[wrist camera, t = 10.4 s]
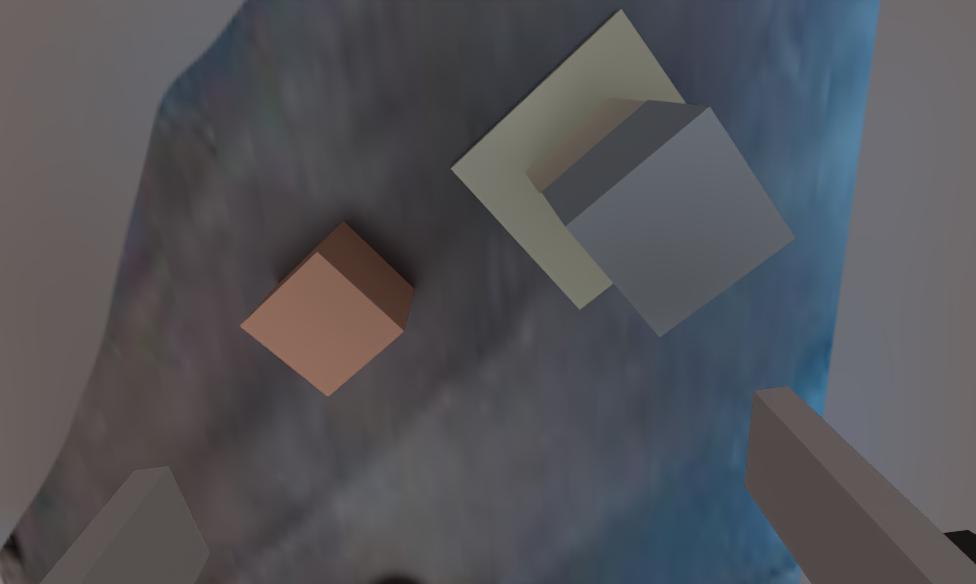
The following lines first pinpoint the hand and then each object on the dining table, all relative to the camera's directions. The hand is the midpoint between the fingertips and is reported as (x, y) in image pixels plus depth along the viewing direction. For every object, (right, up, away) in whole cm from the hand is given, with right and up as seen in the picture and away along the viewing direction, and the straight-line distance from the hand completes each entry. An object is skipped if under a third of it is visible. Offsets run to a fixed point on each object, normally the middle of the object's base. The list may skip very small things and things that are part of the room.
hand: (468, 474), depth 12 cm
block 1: (-8, +5, +20) cm, 23 cm away
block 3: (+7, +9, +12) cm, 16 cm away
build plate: (+7, +11, +18) cm, 22 cm away
